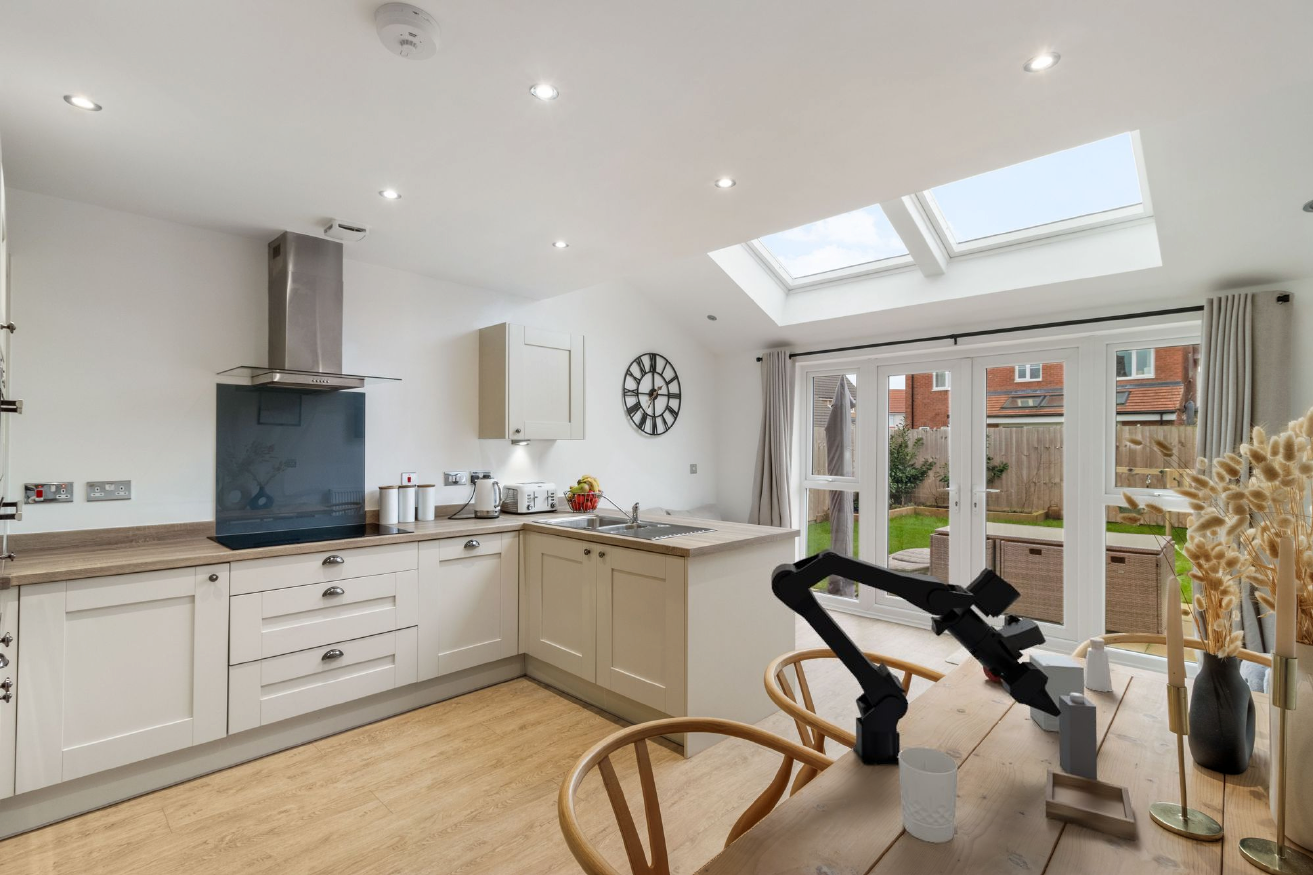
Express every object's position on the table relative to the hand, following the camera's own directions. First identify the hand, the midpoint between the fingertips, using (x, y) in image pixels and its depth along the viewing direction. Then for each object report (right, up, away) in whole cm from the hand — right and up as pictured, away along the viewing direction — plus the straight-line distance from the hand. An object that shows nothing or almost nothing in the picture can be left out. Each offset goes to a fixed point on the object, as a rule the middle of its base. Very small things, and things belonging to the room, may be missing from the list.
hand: (1046, 703), depth 108 cm
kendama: (+16, -12, +35) cm, 40 cm away
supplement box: (+12, -12, +17) cm, 24 cm away
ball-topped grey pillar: (+5, -11, -1) cm, 12 cm away
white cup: (-27, -12, -16) cm, 34 cm away
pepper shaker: (+33, -12, +35) cm, 50 cm away
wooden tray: (-1, -11, -12) cm, 16 cm away
